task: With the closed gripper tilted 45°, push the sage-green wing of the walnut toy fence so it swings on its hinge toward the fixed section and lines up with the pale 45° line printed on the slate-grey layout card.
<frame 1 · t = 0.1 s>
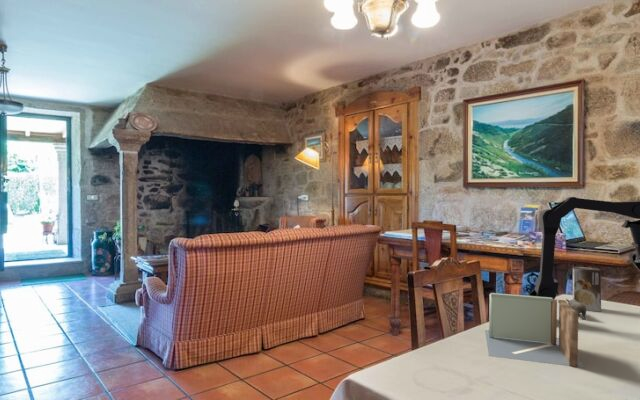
coffee box: (586, 309, 162), on the table
rhino figurine: (574, 316, 152), on the table
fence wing: (522, 318, 124), point 7 cm above the table, hinge at 0.0°
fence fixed: (553, 344, 121), resting on layout card
layout card: (528, 347, 120), on the table
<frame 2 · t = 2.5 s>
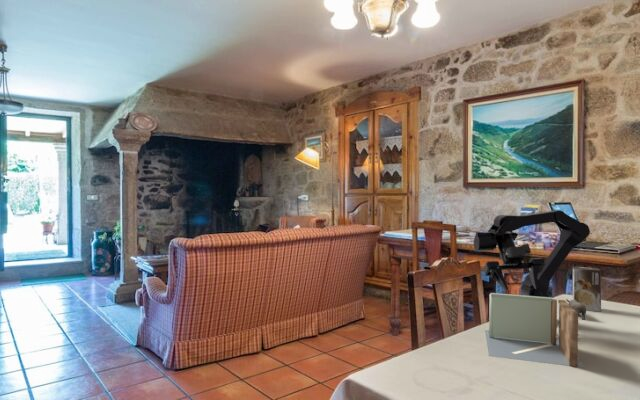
hand: (521, 289, 134), 14 cm above the table, tool tilted 40°, fingers open, 9 cm apart
nothing on the table moved.
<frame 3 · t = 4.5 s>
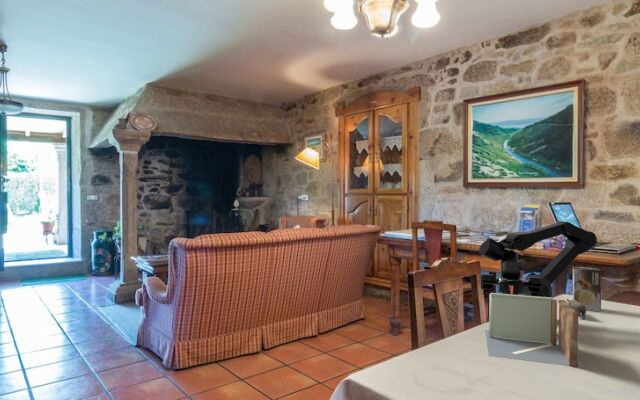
hand: (511, 305, 133), 9 cm above the table, tool tilted 45°, fingers closed
nothing on the table moved.
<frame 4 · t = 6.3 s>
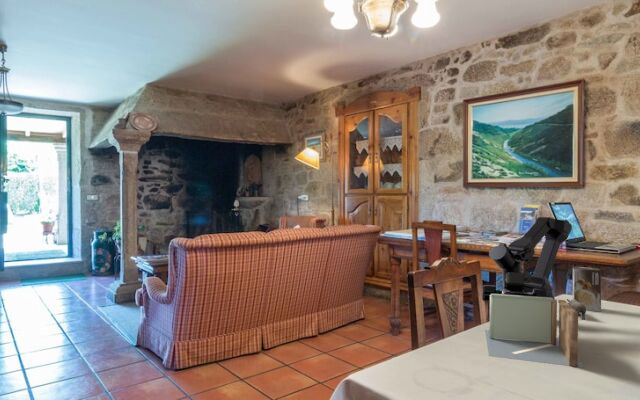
hand: (515, 319, 125), 7 cm above the table, tool tilted 45°, fingers closed, pressing on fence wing
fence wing: (522, 318, 124), point 7 cm above the table, hinge at 3.4°, touching gripper
everything else where it was.
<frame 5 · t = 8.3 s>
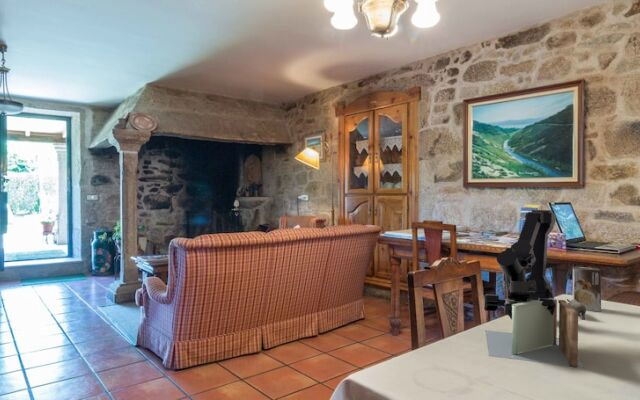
hand: (520, 331, 117), 6 cm above the table, tool tilted 45°, fingers closed, pressing on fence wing
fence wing: (534, 324, 118), point 7 cm above the table, hinge at 46.1°, touching gripper
everything else where it was.
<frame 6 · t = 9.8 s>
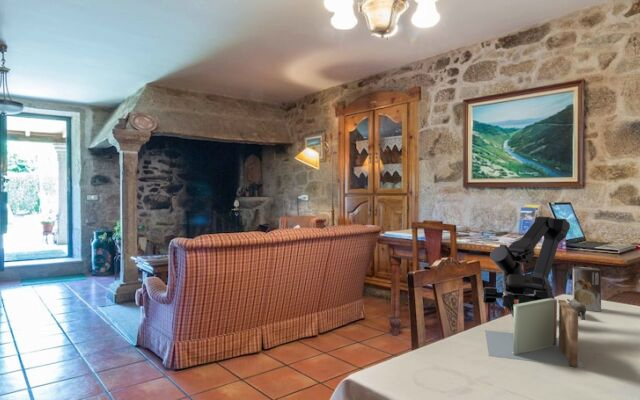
hand: (517, 321, 124), 6 cm above the table, tool tilted 45°, fingers closed
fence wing: (535, 325, 117), point 7 cm above the table, hinge at 47.8°
everything else where it was.
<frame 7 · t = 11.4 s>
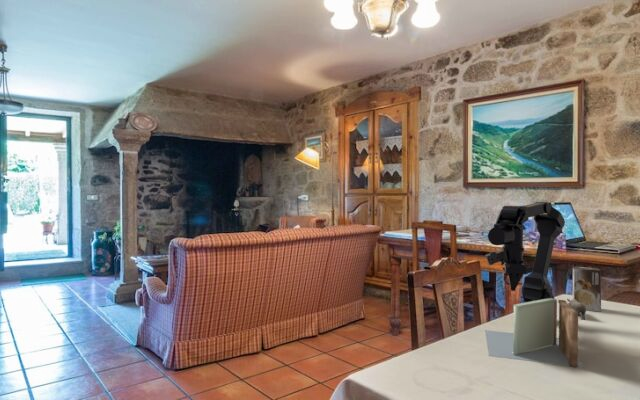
hand: (512, 290, 136), 13 cm above the table, tool pointing down, fingers closed
nothing on the table moved.
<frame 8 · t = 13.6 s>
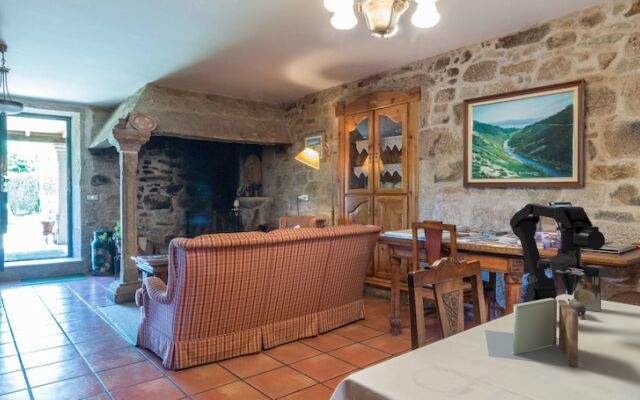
hand: (570, 294, 131), 13 cm above the table, tool pointing down, fingers closed
nothing on the table moved.
at the end: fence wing at +48° (first picture: +0°) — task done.
